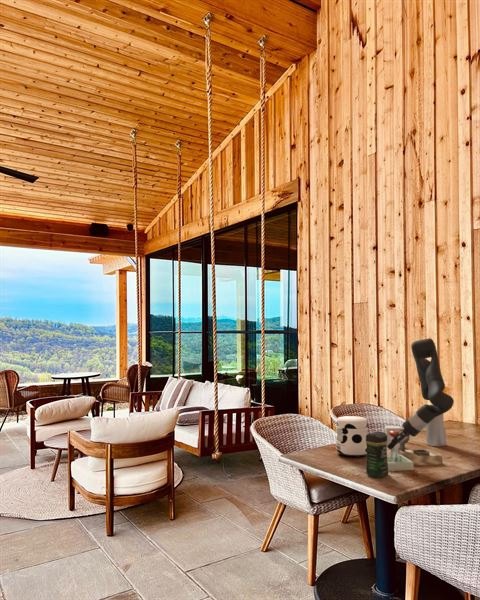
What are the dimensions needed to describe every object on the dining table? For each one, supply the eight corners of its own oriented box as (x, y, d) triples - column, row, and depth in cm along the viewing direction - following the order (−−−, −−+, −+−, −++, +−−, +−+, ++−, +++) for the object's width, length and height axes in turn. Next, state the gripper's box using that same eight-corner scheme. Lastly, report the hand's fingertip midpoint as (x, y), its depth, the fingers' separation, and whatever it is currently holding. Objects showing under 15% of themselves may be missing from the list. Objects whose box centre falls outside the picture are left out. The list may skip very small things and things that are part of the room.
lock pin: (397, 459, 215) (396, 430, 216) (402, 461, 211) (401, 432, 211) (388, 459, 215) (387, 430, 216) (392, 462, 210) (391, 432, 211)
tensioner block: (429, 457, 227) (428, 427, 228) (442, 464, 215) (441, 432, 216) (394, 458, 226) (393, 428, 226) (406, 465, 214) (404, 434, 215)
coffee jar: (379, 479, 194) (378, 435, 195) (363, 475, 200) (362, 432, 201) (391, 474, 201) (390, 431, 202) (375, 470, 207) (374, 429, 208)
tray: (401, 462, 219) (401, 455, 219) (413, 469, 207) (413, 462, 207) (377, 463, 218) (377, 456, 218) (388, 470, 206) (387, 463, 206)
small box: (399, 445, 251) (399, 425, 252) (402, 447, 246) (401, 428, 246) (385, 445, 252) (384, 425, 253) (387, 447, 246) (386, 427, 247)
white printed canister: (375, 452, 237) (374, 417, 238) (364, 460, 222) (363, 423, 223) (343, 448, 246) (342, 414, 247) (330, 456, 232) (329, 420, 233)
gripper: (414, 414, 215) (390, 437, 222) (403, 419, 204) (378, 443, 211) (426, 427, 211) (401, 450, 218) (416, 433, 200) (390, 457, 207)
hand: (390, 446), depth 214 cm, fingers closed on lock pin, 3 cm apart
